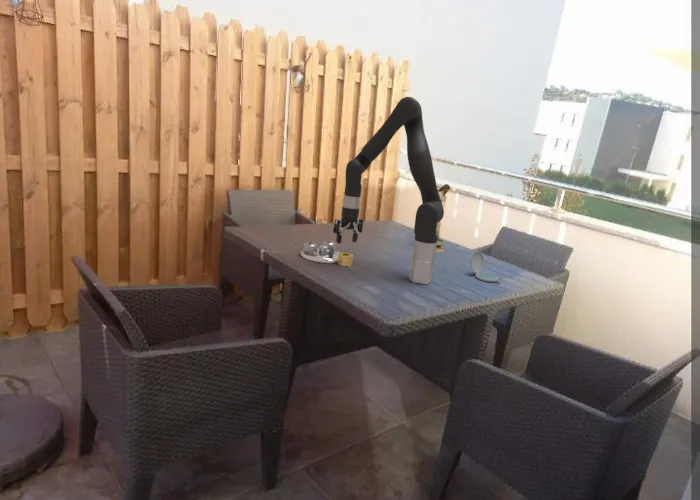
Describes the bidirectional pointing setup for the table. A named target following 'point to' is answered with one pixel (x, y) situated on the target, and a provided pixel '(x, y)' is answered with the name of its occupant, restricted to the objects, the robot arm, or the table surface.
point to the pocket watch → (477, 266)
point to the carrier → (320, 252)
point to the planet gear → (345, 259)
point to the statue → (439, 248)
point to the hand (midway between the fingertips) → (346, 242)
